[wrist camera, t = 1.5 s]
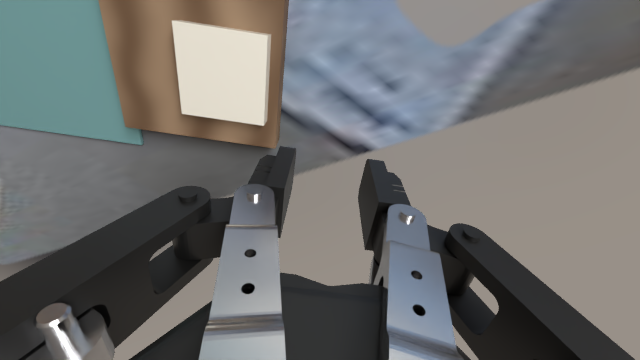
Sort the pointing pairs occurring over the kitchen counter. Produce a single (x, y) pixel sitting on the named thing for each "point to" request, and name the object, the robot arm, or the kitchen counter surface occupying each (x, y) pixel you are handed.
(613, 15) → the kitchen counter surface
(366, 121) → the kitchen counter surface
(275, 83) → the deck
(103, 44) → the mat
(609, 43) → the kitchen counter surface
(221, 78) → the tile
